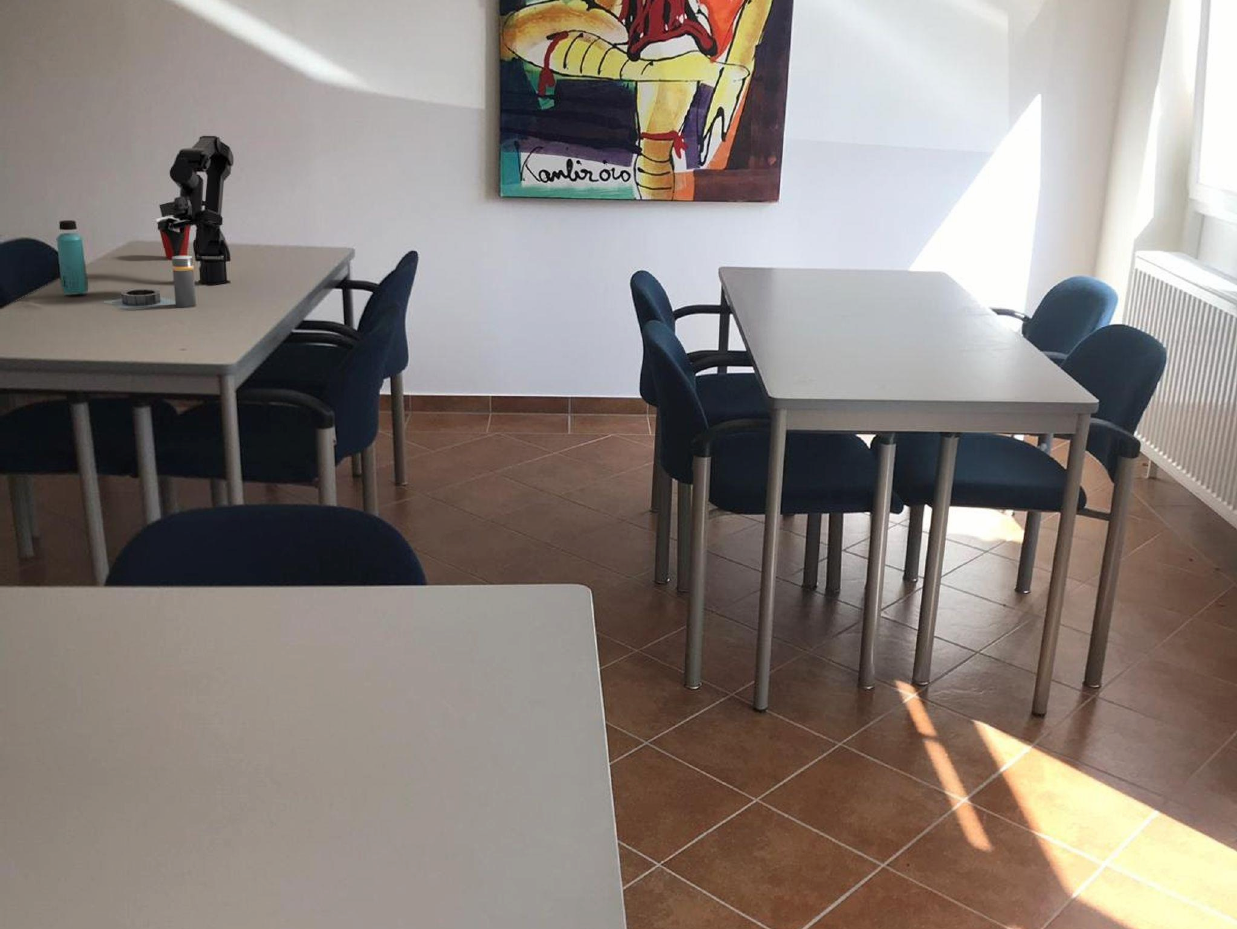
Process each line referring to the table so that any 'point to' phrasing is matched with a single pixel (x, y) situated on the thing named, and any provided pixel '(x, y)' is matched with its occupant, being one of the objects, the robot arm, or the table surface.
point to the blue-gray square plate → (119, 304)
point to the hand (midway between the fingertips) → (188, 254)
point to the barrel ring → (141, 297)
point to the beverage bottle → (71, 260)
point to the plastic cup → (167, 243)
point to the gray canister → (184, 281)
